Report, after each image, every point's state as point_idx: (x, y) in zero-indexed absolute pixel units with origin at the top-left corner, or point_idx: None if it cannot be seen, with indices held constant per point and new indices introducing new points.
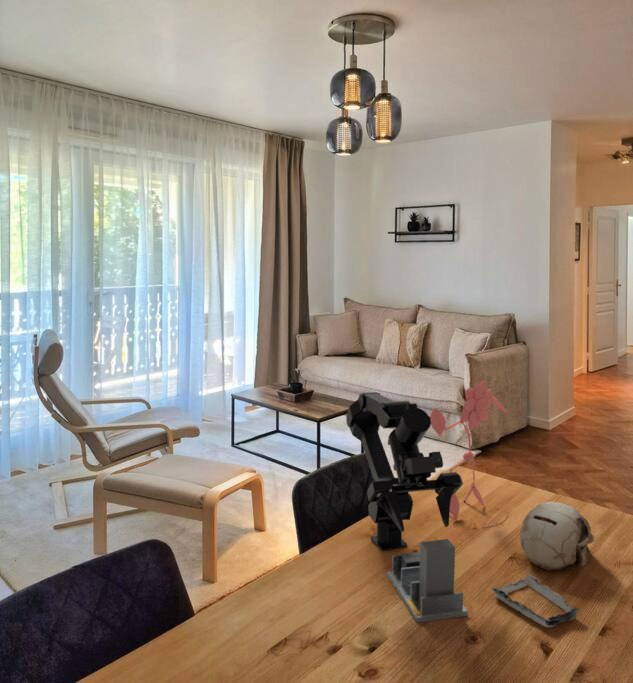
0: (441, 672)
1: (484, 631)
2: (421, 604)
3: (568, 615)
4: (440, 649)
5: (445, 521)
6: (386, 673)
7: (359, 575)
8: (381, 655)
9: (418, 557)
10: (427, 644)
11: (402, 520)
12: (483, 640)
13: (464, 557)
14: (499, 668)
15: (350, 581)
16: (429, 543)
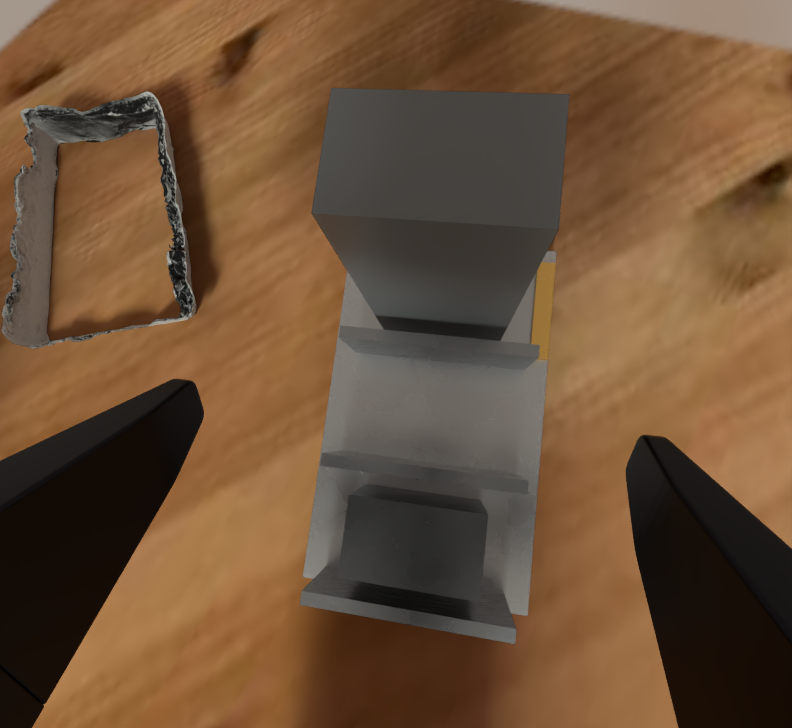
0: (588, 31)
1: None
2: None
3: (72, 125)
4: None
5: (174, 410)
6: (764, 61)
7: (654, 664)
8: (750, 138)
9: (396, 543)
10: (569, 149)
11: (680, 496)
12: None
13: (120, 617)
14: (415, 12)
15: None
16: (492, 188)
